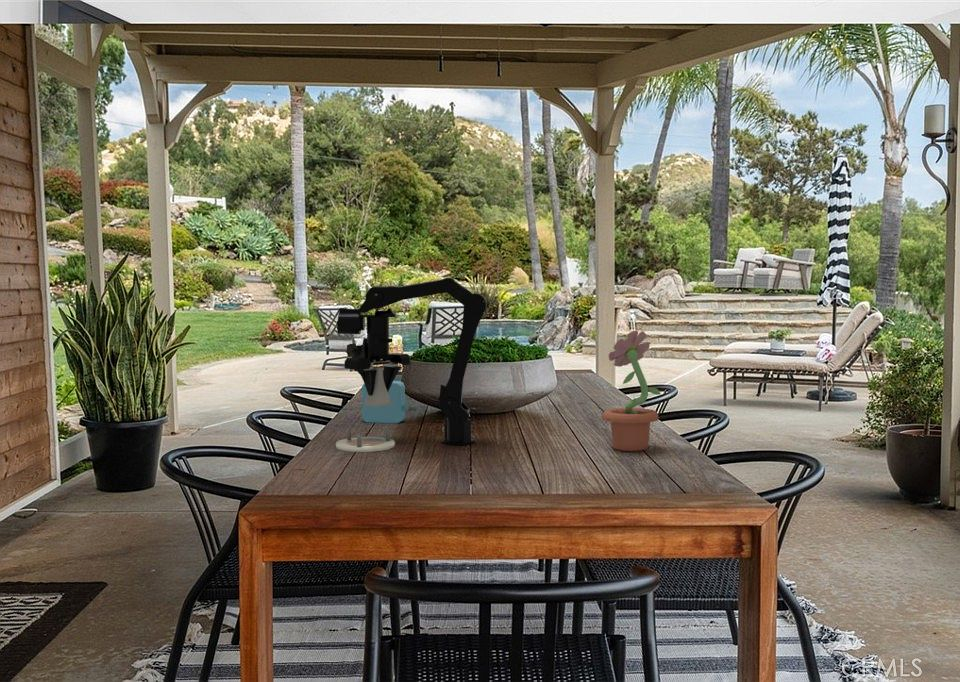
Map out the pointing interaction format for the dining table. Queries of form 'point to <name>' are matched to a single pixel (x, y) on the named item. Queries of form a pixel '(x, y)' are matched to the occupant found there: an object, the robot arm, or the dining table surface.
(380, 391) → the flask
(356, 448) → the pin cradle
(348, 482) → the dining table surface
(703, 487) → the dining table surface
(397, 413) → the blue rounded slab
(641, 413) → the decorative flower
